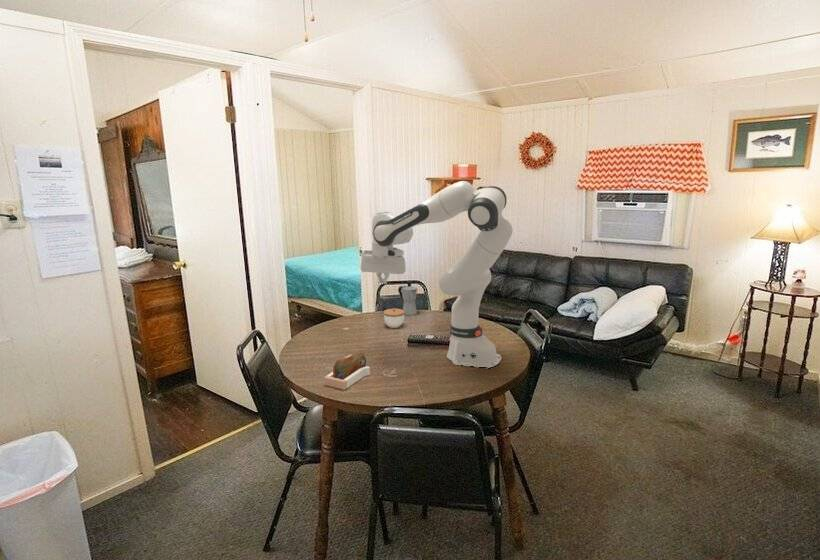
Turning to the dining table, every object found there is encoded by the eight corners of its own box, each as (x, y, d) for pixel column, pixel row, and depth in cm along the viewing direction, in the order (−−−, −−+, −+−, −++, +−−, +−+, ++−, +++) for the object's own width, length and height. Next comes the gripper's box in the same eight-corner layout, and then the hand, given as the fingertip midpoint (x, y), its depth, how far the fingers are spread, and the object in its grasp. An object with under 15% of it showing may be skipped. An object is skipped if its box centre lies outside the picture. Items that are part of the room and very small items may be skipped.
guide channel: (371, 374, 169) (370, 366, 168) (347, 390, 155) (347, 383, 155) (345, 368, 174) (345, 361, 173) (321, 384, 161) (320, 376, 160)
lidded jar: (380, 324, 227) (380, 307, 224) (399, 321, 231) (399, 304, 229) (388, 330, 217) (388, 312, 215) (408, 327, 221) (407, 309, 219)
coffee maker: (423, 314, 244) (423, 282, 240) (411, 317, 238) (411, 285, 234) (404, 308, 254) (404, 278, 250) (393, 311, 248) (392, 280, 244)
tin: (337, 384, 160) (336, 363, 158) (332, 382, 162) (331, 361, 160) (367, 371, 172) (366, 350, 170) (361, 368, 174) (360, 349, 172)
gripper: (357, 250, 187) (358, 282, 189) (400, 252, 179) (400, 286, 181) (365, 249, 193) (365, 280, 195) (407, 251, 184) (407, 283, 186)
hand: (382, 283), depth 188 cm, fingers closed
